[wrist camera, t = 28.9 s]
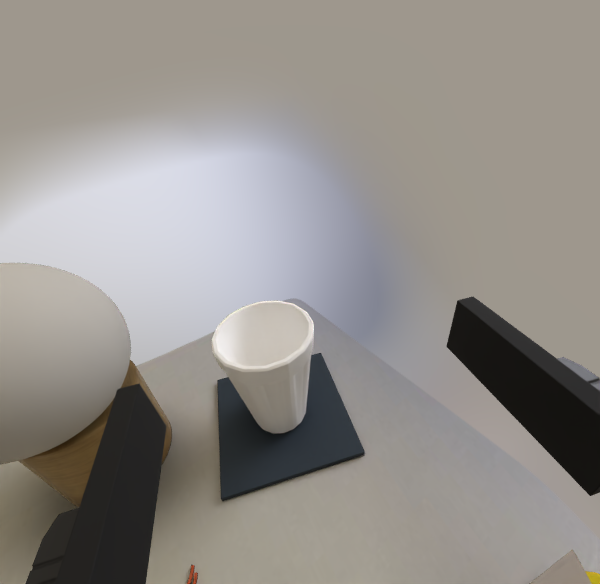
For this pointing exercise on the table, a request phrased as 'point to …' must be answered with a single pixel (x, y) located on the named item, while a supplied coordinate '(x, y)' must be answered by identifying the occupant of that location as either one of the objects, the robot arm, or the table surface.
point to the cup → (268, 360)
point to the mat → (283, 437)
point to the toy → (567, 572)
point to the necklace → (192, 576)
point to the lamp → (60, 373)
